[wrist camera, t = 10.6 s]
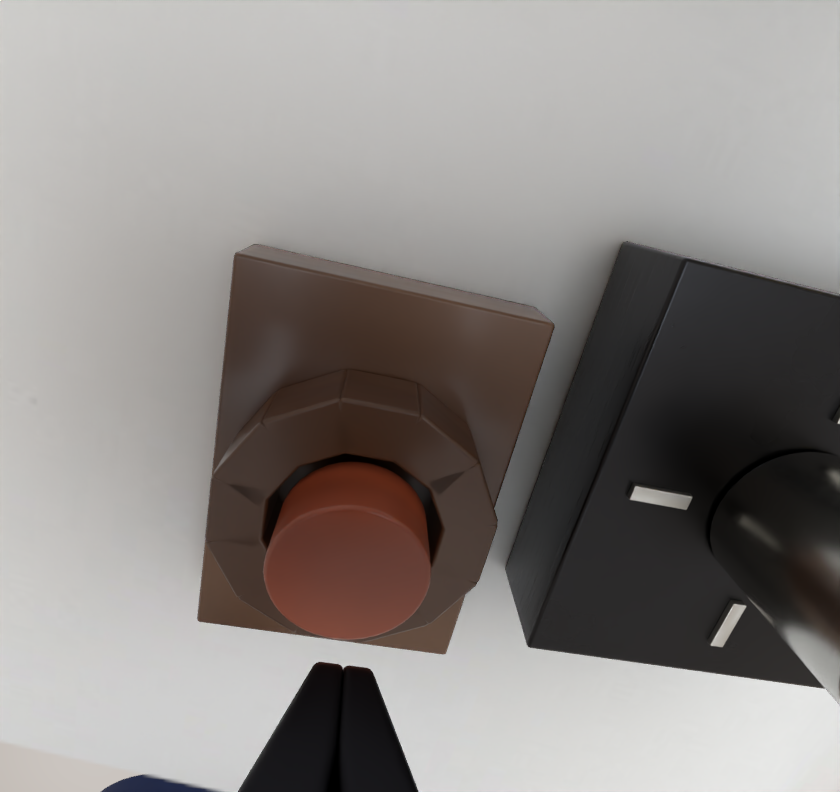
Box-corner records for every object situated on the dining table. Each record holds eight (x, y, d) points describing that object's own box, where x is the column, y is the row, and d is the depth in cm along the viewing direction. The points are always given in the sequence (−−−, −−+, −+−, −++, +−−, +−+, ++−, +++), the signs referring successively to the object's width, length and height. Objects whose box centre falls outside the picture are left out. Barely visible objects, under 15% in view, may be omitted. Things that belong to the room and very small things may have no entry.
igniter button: (408, 590, 12) (411, 651, 11) (271, 570, 12) (253, 630, 10) (441, 474, 11) (449, 522, 10) (291, 446, 11) (273, 493, 9)
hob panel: (778, 612, 18) (854, 698, 15) (503, 569, 16) (528, 653, 13) (955, 323, 14) (1104, 361, 11) (621, 240, 13) (689, 258, 10)
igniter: (441, 611, 17) (452, 714, 14) (215, 579, 16) (170, 680, 13) (537, 307, 13) (584, 348, 10) (253, 242, 12) (204, 265, 9)
